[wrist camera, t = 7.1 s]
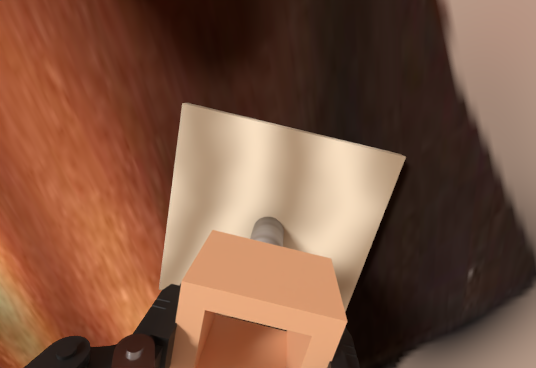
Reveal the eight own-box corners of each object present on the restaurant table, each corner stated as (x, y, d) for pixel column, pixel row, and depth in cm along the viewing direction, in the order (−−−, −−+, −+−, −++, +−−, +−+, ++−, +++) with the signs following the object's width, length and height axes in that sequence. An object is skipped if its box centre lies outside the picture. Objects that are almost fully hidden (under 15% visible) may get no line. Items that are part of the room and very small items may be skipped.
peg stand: (164, 280, 25) (107, 362, 17) (188, 103, 20) (124, 104, 12) (334, 322, 25) (355, 423, 17) (399, 153, 20) (469, 187, 12)
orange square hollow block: (195, 324, 15) (164, 398, 11) (212, 229, 13) (181, 280, 10) (299, 349, 15) (303, 433, 11) (331, 258, 13) (347, 321, 10)
